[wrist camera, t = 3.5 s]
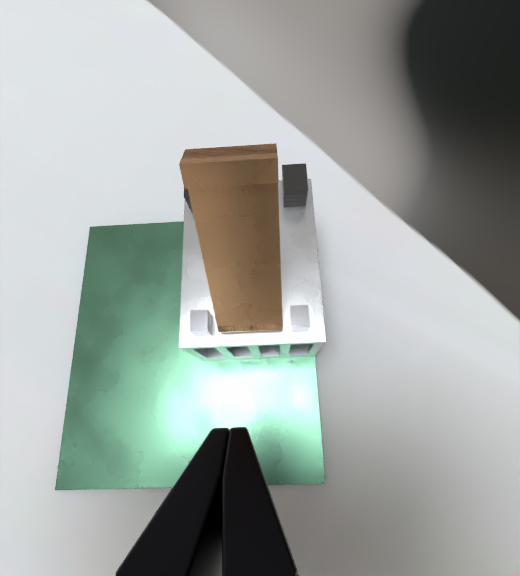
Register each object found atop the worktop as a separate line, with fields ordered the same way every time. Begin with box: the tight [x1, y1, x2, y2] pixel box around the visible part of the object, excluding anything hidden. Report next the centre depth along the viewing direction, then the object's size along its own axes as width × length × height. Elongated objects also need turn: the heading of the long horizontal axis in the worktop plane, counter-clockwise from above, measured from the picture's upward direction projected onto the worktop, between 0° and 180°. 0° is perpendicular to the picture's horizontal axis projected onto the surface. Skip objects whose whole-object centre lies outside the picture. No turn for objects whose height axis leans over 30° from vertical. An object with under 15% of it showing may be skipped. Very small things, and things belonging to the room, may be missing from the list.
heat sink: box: [55, 164, 326, 490], centre depth 20 cm, size 17×16×8 cm
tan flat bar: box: [179, 144, 283, 333], centre depth 14 cm, size 8×3×1 cm
